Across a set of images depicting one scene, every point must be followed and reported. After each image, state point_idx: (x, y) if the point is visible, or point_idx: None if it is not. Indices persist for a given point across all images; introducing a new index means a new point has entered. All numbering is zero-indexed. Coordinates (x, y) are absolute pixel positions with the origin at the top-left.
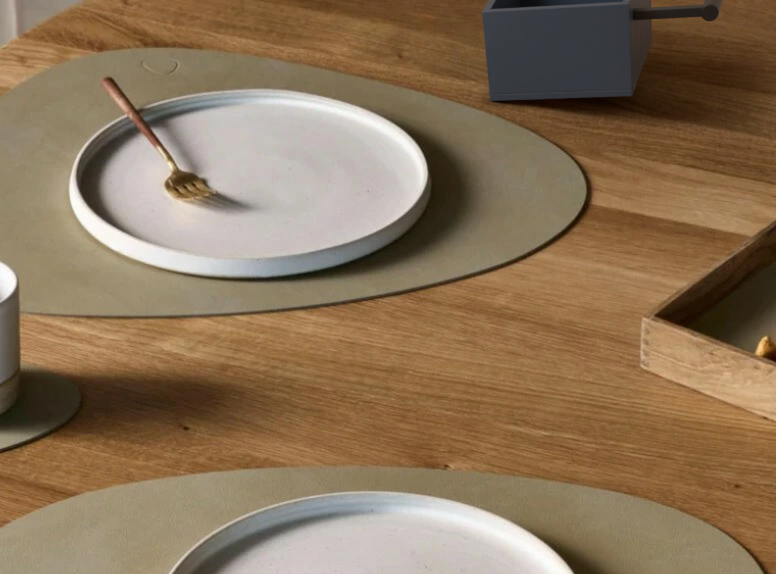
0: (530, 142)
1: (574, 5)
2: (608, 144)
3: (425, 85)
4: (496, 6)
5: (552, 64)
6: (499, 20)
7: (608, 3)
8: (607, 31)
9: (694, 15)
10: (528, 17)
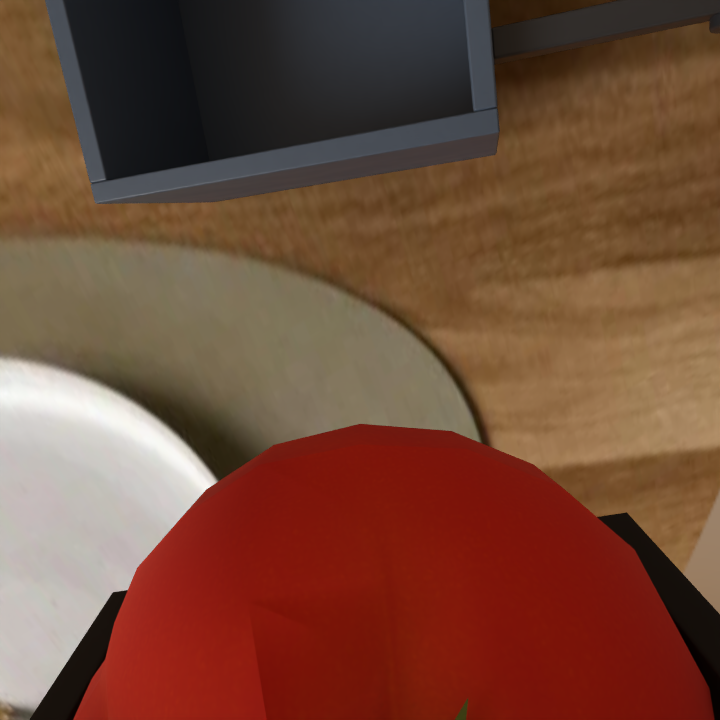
0: (341, 324)
1: (331, 148)
2: (469, 255)
3: (72, 201)
4: (100, 106)
5: (313, 179)
6: (149, 196)
7: (431, 129)
8: (436, 151)
9: (684, 24)
10: (219, 184)
